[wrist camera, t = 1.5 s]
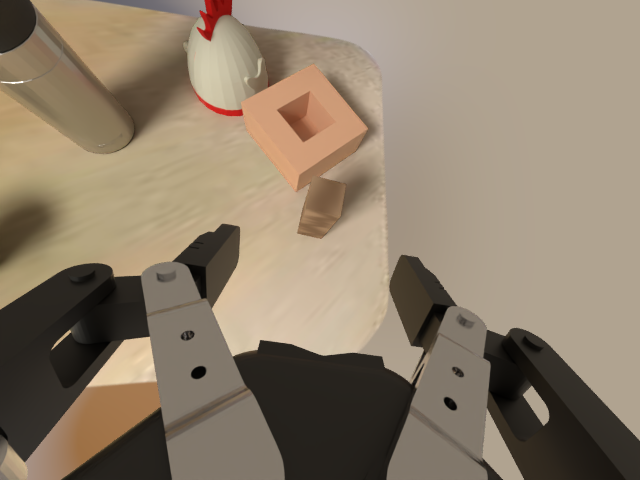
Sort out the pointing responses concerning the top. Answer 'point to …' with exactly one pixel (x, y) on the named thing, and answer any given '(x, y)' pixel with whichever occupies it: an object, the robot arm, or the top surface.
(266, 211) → the top surface
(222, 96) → the kitchen timer
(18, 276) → the top surface
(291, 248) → the top surface
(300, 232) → the walnut bar
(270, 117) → the terracotta well block
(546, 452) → the robot arm
